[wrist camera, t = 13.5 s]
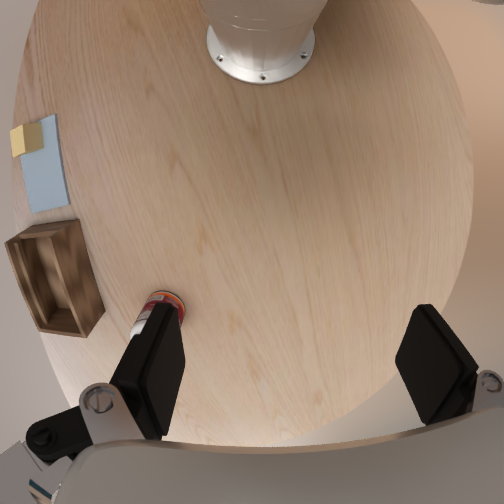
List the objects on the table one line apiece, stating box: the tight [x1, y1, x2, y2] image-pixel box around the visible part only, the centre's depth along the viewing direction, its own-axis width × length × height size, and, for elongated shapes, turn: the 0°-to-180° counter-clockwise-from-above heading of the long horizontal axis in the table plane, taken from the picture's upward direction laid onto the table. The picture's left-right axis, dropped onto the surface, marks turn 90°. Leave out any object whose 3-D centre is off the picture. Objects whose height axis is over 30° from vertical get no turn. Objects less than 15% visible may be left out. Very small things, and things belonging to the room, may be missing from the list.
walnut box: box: [5, 219, 105, 338], centre depth 37 cm, size 16×11×7 cm
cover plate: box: [10, 114, 71, 213], centre depth 31 cm, size 14×9×5 cm, turn 5°
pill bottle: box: [130, 292, 185, 339], centre depth 37 cm, size 6×6×11 cm
